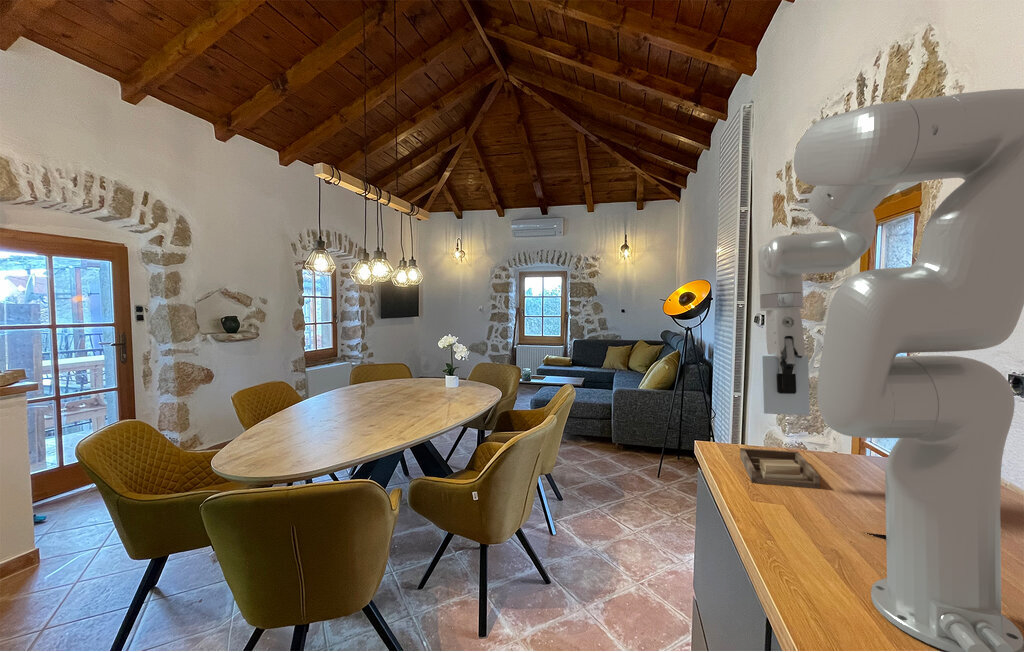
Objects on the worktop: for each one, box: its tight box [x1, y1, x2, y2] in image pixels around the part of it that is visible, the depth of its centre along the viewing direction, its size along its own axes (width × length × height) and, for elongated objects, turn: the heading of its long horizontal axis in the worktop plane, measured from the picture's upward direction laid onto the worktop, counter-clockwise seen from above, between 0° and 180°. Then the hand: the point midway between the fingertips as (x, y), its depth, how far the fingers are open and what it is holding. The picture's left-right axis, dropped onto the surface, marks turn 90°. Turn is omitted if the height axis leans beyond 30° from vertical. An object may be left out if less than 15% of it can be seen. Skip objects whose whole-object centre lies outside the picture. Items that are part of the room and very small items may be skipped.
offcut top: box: [760, 459, 800, 475], centre depth 89 cm, size 4×6×2 cm, turn 78°
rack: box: [739, 447, 821, 490], centre depth 93 cm, size 15×12×4 cm
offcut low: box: [761, 469, 803, 481], centre depth 89 cm, size 4×7×2 cm, turn 70°
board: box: [759, 354, 811, 416], centre depth 87 cm, size 2×8×12 cm, turn 70°
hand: (784, 391), depth 87 cm, fingers closed on board, 2 cm apart
